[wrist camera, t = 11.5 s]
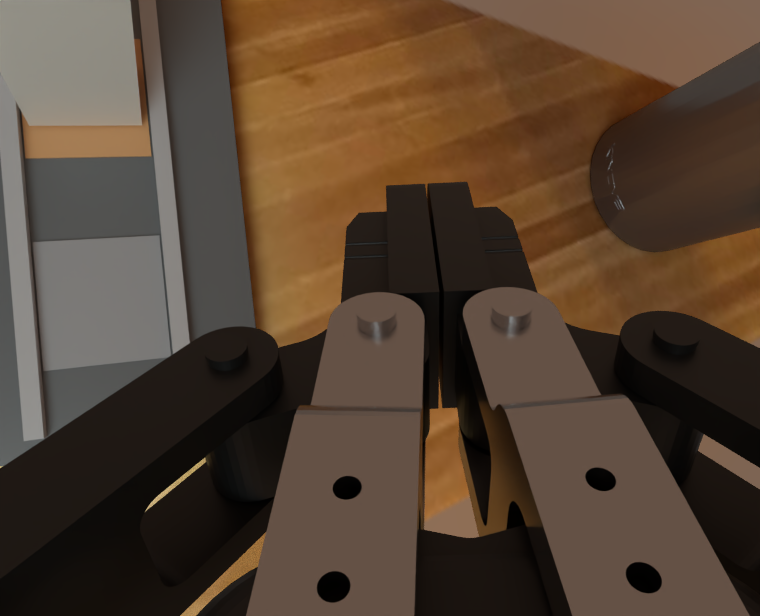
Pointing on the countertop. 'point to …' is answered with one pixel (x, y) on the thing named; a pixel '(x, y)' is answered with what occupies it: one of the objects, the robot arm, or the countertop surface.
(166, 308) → the switch base
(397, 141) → the countertop surface
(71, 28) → the slider tab
